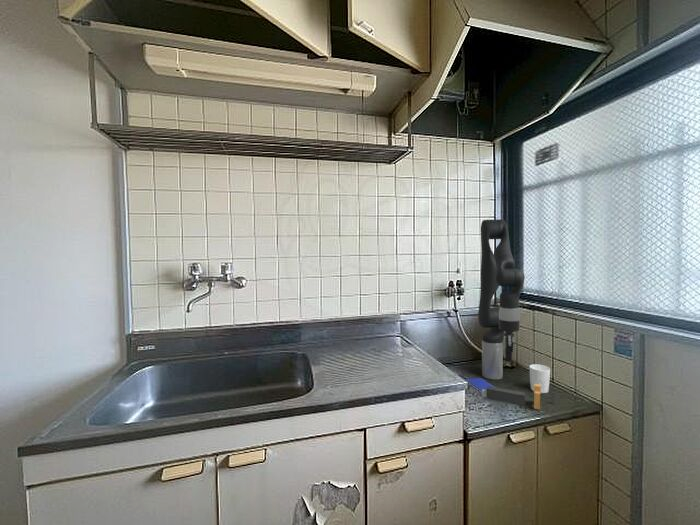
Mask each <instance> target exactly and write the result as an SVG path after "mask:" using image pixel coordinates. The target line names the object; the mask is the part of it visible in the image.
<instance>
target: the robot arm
mask: <svg viewBox="0 0 700 525" xmlns="http://www.w3.org/2000/svg"><path fill="white" fill-rule="evenodd" d="M490 240H500V242H499V243H498V245H497V246H496V247H495V249H494V252H493V250H492V247H491V245H490ZM510 242H511V241H510V234H509V229H508V223H507V222H506V220H504V219H483V220H482V222H481V224H480V244H481V250H480V251H481V259H480V295H479V304H478V315H477V318H478V323H479V325H480V326H481V327H482V328H484V329H486V328H488V330H487V331H485V332H484V333H482V335H481V376H482V377H484V378H486V379H489V380H501V379H503V374H504V373H503V371H504V370H503V368H504V367H503V360H504V356H503V354H504V351H505V361H506V362H512V361H513V355H512V354H513V351H514V347H515V345H514V344H515V338H516V337H515V333H516V332H519V331H520V319H521V317H520V315H521V314H520V296H521V292H522V288H523V286H524V282H525V273H524V272H523V270H521V269H520V268H515V266H516V265H515V264H516V263H515V260H514V257H513V254H512V251H511V244H510ZM500 287H512V288H511V289H510V290H508V291H504V292H501V293H500V294H499V307H491V305H492V300H493V297H494V295H495V293H496V292H497V291H498V290H499V288H500ZM503 350H504V351H503Z"/></svg>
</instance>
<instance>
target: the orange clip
mask: <svg viewBox="0 0 700 525" xmlns="http://www.w3.org/2000/svg"><path fill="white" fill-rule="evenodd" d="M533 392H534V393H533V394H534V395H533V409H535V410H539V411H540V410H541V393H540V384H534V391H533Z"/></svg>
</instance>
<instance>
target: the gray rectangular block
mask: <svg viewBox="0 0 700 525" xmlns="http://www.w3.org/2000/svg"><path fill="white" fill-rule="evenodd" d="M481 398H486V399H489V400H494V399H495V401H499V400H500V401H501V402H504V401H505V403H509V402H511V403H510V404H514V403H516V404H515V405H519V404H521V405H520V406H524V405H525V404H526V392H524V391H516V390H512V389H508V388H506V389H505V388H500V387H496V386H494V387H491V386H487V390H486V389H482V393H481Z"/></svg>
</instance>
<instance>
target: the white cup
mask: <svg viewBox="0 0 700 525" xmlns="http://www.w3.org/2000/svg"><path fill="white" fill-rule="evenodd" d="M550 376H551V368H550V367H549V366H547V365H543V364H536V363H535V364H530V365H529V381H530V382H529V384H530V389H531V390H532V391H533V392H534V384H540V394H548V392H549V391H550V390H549V389H550V380H551V379H550Z"/></svg>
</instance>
